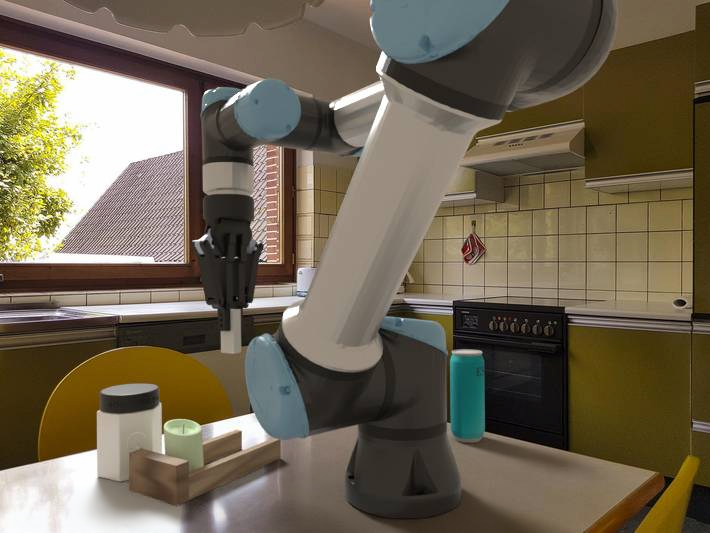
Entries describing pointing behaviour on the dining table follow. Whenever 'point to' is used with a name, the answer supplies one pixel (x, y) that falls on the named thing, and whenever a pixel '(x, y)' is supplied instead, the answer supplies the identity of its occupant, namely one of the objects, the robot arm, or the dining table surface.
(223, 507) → the dining table surface
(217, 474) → the channel
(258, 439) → the dining table surface
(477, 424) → the beverage can
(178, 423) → the candle
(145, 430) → the jar
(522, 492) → the dining table surface
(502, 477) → the dining table surface
